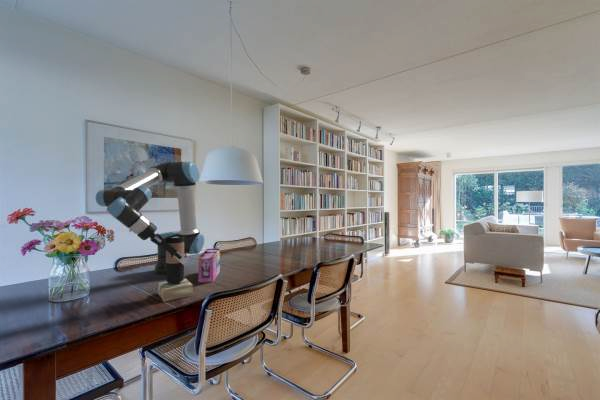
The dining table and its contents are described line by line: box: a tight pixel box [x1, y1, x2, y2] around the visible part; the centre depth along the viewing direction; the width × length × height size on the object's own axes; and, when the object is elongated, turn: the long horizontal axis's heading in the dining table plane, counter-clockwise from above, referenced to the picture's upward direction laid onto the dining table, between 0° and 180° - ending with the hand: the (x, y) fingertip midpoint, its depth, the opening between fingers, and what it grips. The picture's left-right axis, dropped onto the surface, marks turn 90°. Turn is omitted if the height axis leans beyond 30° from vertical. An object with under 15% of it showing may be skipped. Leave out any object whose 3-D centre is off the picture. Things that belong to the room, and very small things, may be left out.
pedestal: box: [157, 277, 194, 302], centre depth 127 cm, size 12×12×5 cm
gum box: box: [197, 248, 221, 283], centre depth 156 cm, size 24×8×14 cm, turn 7°
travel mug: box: [165, 236, 185, 283], centre depth 127 cm, size 8×8×20 cm
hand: (183, 260), depth 129 cm, fingers closed on travel mug, 7 cm apart
